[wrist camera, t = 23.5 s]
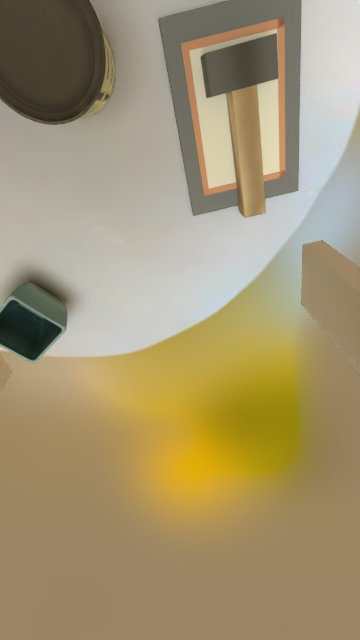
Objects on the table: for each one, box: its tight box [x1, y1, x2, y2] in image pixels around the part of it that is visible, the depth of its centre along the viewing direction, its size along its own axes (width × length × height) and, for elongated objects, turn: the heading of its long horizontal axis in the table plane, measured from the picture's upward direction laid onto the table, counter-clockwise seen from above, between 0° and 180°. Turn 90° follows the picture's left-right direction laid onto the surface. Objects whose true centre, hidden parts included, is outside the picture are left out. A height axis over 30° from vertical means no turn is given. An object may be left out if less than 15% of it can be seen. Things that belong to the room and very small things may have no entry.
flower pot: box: [0, 283, 67, 363], centre depth 49 cm, size 9×9×9 cm
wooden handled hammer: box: [200, 33, 278, 218], centre depth 41 cm, size 8×19×3 cm, turn 13°
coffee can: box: [0, 0, 115, 125], centre depth 30 cm, size 10×10×14 cm
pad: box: [158, 0, 301, 216], centre depth 41 cm, size 16×22×1 cm
